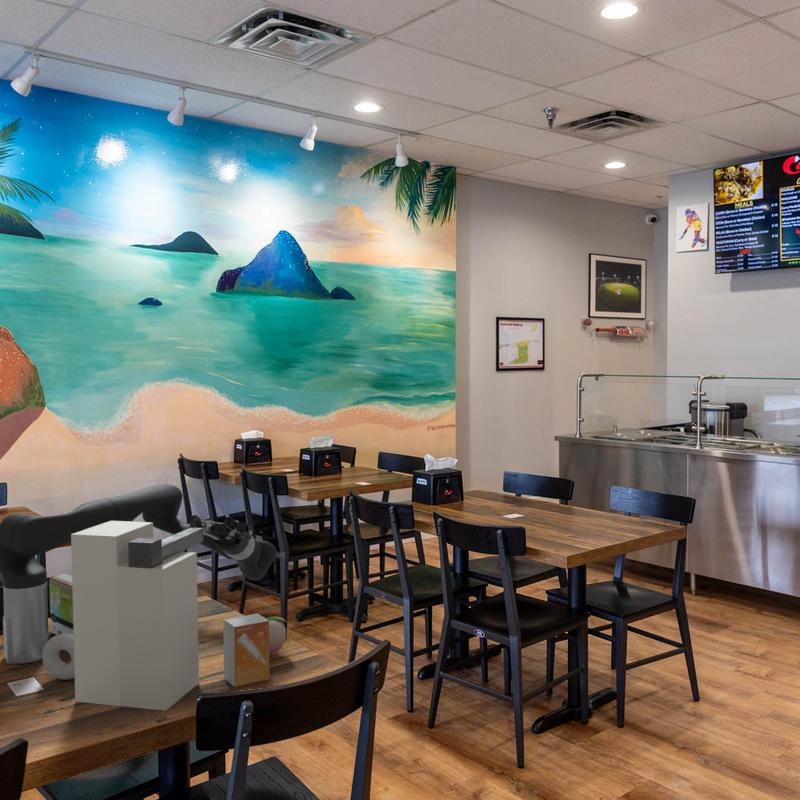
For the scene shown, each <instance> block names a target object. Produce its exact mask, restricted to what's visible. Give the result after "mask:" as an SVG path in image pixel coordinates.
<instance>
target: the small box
mask: <svg viewBox="0 0 800 800" xmlns="http://www.w3.org/2000/svg"><path fill="white" fill-rule="evenodd" d="M223 676H224V677H223V679H225V680H226V681H227V682H228V683H229V684H230V685H232V686H233V687H234V688H237V687H241V686H246V685H250V684H254V683H258V682H264V681H269V680H270V655H269V620H267V619H266V617H265V616H262V615H261V614H260V613H253V614H247V615H246V614H245V615H239V616H236V617H231V618H226V619H223ZM268 679H269V680H268Z"/></svg>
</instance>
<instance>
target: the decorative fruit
mask: <svg viewBox="0 0 800 800" xmlns="http://www.w3.org/2000/svg"><path fill="white" fill-rule="evenodd" d="M265 618H266V619H267V620H269V656H270V655H273V654H275V653H276V652H278V651H279V650H280V649H281V648H282V647H283V645H284V644H285V641H286V639H287V631H286V627H285V624H284V623H287V621H286V620H285V619H284V618H283V617H281V616H274V615H273V616H270V617H268V613H265ZM283 622H284V623H283Z"/></svg>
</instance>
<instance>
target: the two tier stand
mask: <svg viewBox="0 0 800 800" xmlns="http://www.w3.org/2000/svg"><path fill="white" fill-rule="evenodd" d="M137 538H154V527H153V523H152V522H145V521H132V522H129V521H109V522H106V523H103V524H100V525H97V526H94V527H91V528H88V529H85V530H82V531H79V532H76V533H73V534H71V543H70V545H71V572H72V589H73V627H74V666H75V678H74V694H75V696H74V697H75V698H74V699H75V703H85V704H86V703H87V704H95V705H105V706H115V707H125V708H133V709H134V708H135V709H146V710H154V711H155V710H157V711H165V712H166V711H167V710H169V709H170V708H172V706H173V705H174V704H176V703H177V702H178V701H180V699H182V698H183V697H184V696H186V695H187V694H188V693H189V692H190V691H191V690H193V689H194V688H195V687H196V686H198V684H200V671H199V670H200V667H199V665H200V663H199V662H200V661H199V659H200V658H199V654H200V653H199V619H198V618H199V617H198V616H199V613H198V611H199V610H198V609H199V607H198V606H199V604H198V601H199V599H198V563H197V562H198V558H197V557H198V553H197V552H192V551H191V552H190V551H189V552H188V551H182V552H180V553H178V554H176V555H174V556H172V557H170V558H168V559H166V560H164V561H162V564H160V565H158V566H156V567H154V568H152V569H151V568H133V567H129V558H128V542H129V541H132V540H134V539H137Z"/></svg>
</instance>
